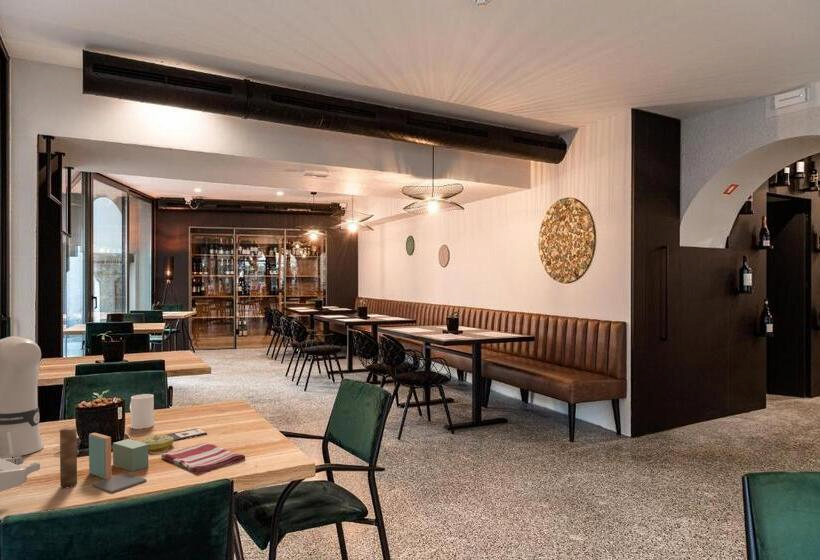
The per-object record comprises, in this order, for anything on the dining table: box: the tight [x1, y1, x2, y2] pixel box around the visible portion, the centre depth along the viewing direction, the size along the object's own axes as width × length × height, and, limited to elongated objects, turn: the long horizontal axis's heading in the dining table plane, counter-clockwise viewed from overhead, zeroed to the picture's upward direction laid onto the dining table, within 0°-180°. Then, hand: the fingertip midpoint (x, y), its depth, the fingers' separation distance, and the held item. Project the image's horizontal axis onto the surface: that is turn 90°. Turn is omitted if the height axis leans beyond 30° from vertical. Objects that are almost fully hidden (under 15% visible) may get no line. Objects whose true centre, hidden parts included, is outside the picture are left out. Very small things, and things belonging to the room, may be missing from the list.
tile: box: [88, 432, 112, 480], centre depth 159 cm, size 2×9×12 cm, turn 58°
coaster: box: [92, 472, 147, 494], centre depth 153 cm, size 10×10×1 cm
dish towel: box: [160, 442, 246, 475], centre depth 173 cm, size 17×23×3 cm
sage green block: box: [112, 438, 149, 472], centre depth 167 cm, size 5×11×7 cm, turn 58°
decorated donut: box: [140, 434, 175, 453], centre depth 185 cm, size 10×11×4 cm
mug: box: [129, 393, 155, 430], centre depth 213 cm, size 12×8×12 cm
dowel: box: [59, 426, 78, 489], centre depth 152 cm, size 4×4×16 cm
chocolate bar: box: [165, 428, 208, 442], centre depth 197 cm, size 9×1×18 cm
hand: (30, 462), depth 143 cm, fingers open, 8 cm apart
